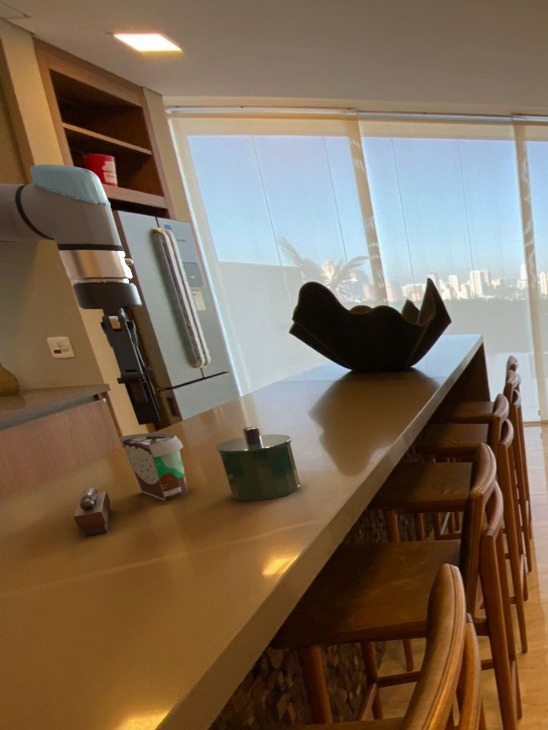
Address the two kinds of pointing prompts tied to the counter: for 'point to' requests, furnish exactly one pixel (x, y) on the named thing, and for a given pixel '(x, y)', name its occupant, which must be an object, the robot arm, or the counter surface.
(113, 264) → the robot arm
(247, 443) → the pot lid
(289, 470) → the pot
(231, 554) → the counter surface
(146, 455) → the food container
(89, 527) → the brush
